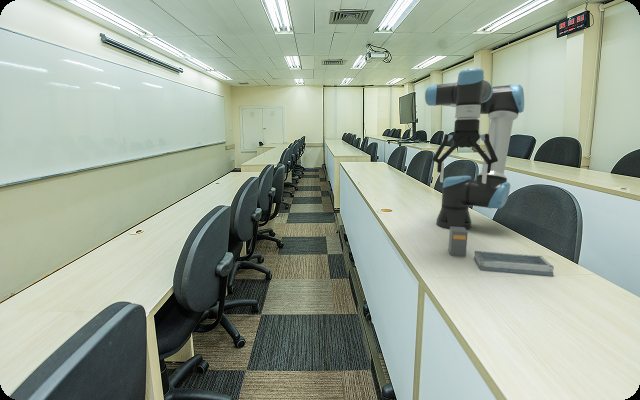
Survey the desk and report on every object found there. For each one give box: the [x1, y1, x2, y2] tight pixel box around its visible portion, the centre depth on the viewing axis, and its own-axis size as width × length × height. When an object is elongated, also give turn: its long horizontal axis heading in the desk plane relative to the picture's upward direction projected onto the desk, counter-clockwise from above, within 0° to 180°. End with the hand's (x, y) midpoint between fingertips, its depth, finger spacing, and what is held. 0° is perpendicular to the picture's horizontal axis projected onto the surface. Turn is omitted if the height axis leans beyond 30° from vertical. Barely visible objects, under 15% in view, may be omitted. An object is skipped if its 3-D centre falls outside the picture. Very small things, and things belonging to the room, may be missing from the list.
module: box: [447, 226, 468, 258], centre depth 114 cm, size 6×5×9 cm
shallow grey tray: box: [473, 250, 555, 277], centre depth 103 cm, size 10×20×3 cm, turn 75°
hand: (462, 182), depth 110 cm, fingers open, 13 cm apart
